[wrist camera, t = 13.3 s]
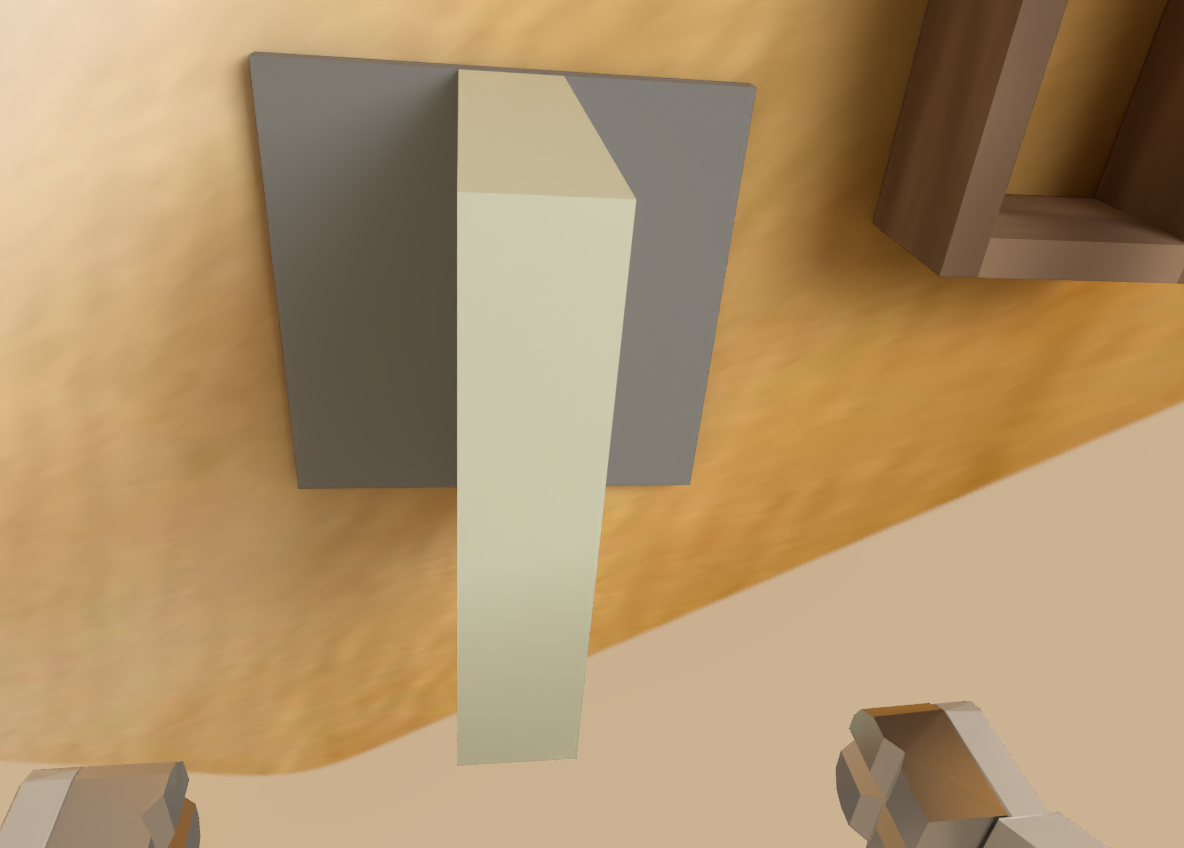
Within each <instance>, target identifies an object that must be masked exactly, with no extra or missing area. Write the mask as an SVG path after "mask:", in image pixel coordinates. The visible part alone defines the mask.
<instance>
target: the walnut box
mask: <svg viewBox="0 0 1184 848" xmlns="http://www.w3.org/2000/svg"><path fill="white" fill-rule="evenodd" d="M1067 2H1068V0H929V3H928V7H927V11H926V15H925V19H924V23H923V27H922V31H921V35H920V39H919V43H918V47H917V51H916V55H915V59H914V63H913V67H912V71H911V74H910V78H909V82H908V86H907V90H906V94H905V98H904V102H903V106H902V110H901V114H900V118H899V122H898V126H897V130H896V134H895V138H894V142H893V146H892V150H891V154H890V158H889V162H888V166H887V170H886V174H885V178H884V182H883V186H882V190H881V194H880V197H879V201H878V205H877V209H876V213H875V217H874V221H873V224H874V225H875V226H876V227H877V228H879V229H880V230H881V231H883V232H884V233H885V234H886V235H888V236H889V237H890V238H891V239H893V240H894V241H895V242H896V243H898V244H899V245H900V246H902V247H903V248H904V249H905V250H907V251H908V252H909V253H910V254H912V255H913V256H914V257H916V258H917V259H918V260H919V261H921V262H922V263H923V264H924V265H926V266H927V267H928V268H929V269H931V270H932V271H933V272H935V273H936V274H937V275H938V276H940V277H972V278H1006V279H1040V280H1074V281H1108V282H1142V283H1176V284H1184V0H1169V1H1168V4H1167V7H1166V9H1165V12H1164V15H1163V17H1162V20H1161V22H1160V25H1159V28H1158V30H1157V33H1156V36H1155V38H1154V41H1153V43H1152V46H1151V49H1150V51H1149V54H1148V57H1147V59H1146V62H1145V64H1144V67H1143V70H1142V72H1141V75H1140V78H1139V80H1138V83H1137V86H1136V88H1135V91H1134V93H1133V96H1132V99H1131V101H1130V104H1129V107H1128V109H1127V112H1126V114H1125V117H1124V120H1123V122H1122V125H1121V128H1120V130H1119V133H1118V136H1117V138H1116V141H1115V143H1114V146H1113V149H1112V151H1111V154H1110V157H1109V159H1108V162H1107V164H1106V167H1105V170H1104V172H1103V175H1102V178H1101V180H1100V183H1099V185H1098V188H1097V191H1096V193H1095V196H1094V198H1078V197H1056V196H1034V195H1012V194H1005V192H1006V189H1007V186H1008V183H1009V180H1010V177H1011V174H1012V171H1013V168H1014V165H1015V161H1016V158H1017V155H1018V152H1019V149H1020V146H1021V143H1022V140H1023V137H1024V134H1025V131H1026V128H1027V125H1028V122H1029V119H1030V115H1031V112H1032V109H1033V106H1034V103H1035V100H1036V97H1037V94H1038V91H1039V88H1040V85H1041V82H1042V79H1043V76H1044V73H1045V70H1046V66H1047V63H1048V60H1049V57H1050V54H1051V51H1052V48H1053V45H1054V42H1055V39H1056V36H1057V33H1058V30H1059V27H1060V24H1061V20H1062V17H1063V14H1064V11H1065V8H1066V5H1067Z"/></svg>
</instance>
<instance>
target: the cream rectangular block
mask: <svg viewBox="0 0 1184 848" xmlns="http://www.w3.org/2000/svg"><path fill="white" fill-rule="evenodd" d="M635 207H636V198H635V196H634V195H633V193H632V191H631V189H630V188H629V186H628V184H627V183H626V181H625V179H624V177H623V176H622V174H621V172H620V171H619V169H618V167H617V165H616V164H615V162H614V160H613V159H612V157H611V155H610V154H609V152H608V150H607V148H606V147H605V145H604V143H603V142H602V140H601V138H600V136H599V135H598V133H597V131H596V130H595V128H594V126H593V124H592V123H591V121H590V119H589V118H588V116H587V114H586V113H585V111H584V109H583V107H582V106H581V104H580V102H579V101H578V99H577V97H576V95H575V94H574V92H573V90H572V89H571V87H570V85H569V83H568V82H567V80H566V78H565V77H564V76H556V75H541V74H525V73H509V72H493V71H478V70H462V69H459V70H458V165H457V765H458V766H459V765H477V764H494V763H511V762H528V761H545V760H562V759H576V757H577V748H578V739H579V729H580V720H581V711H582V702H583V692H584V683H585V674H586V664H587V655H588V646H589V636H590V627H591V618H592V608H593V599H594V590H595V580H596V571H597V562H598V552H599V543H600V534H601V524H602V515H603V506H604V496H605V487H606V478H607V468H608V459H609V450H610V441H611V431H612V422H613V413H614V403H615V394H616V385H617V375H618V366H619V357H620V347H621V338H622V329H623V319H624V310H625V301H626V291H627V282H628V273H629V263H630V254H631V245H632V235H633V226H634V217H635Z"/></svg>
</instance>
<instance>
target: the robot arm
mask: <svg viewBox="0 0 1184 848" xmlns="http://www.w3.org/2000/svg"><path fill="white" fill-rule="evenodd" d="M849 729H850V731H851V733H852V735H853V737H854V739H855V740H854V741H852V742H851V743H850V744H849V745H848V746H846V747H845V748H844V749H843V750H841V752H840V756H839V759H838V763H837V766H836V785H837V793H838V797H839V801H840V804H841V808H842V810H843V813H844V815H845V817H846V820H847V822H848V825H849V826H850V827H851V828H852V829H854V830H855V831H856V832H857V833H859V834H860V835H861V836H862V837H863V838H864V839H866V840H867V846H866V848H1110V847H1109V846H1107V845H1106V844H1104V843H1103V842H1102V841H1100V840H1098V839H1097V838H1096V837H1094V836H1093V835H1091V834H1090V833H1089V832H1087V831H1086V830H1084V829H1083V828H1081V827H1080V826H1079V825H1077V824H1076V823H1074V822H1073V821H1072V820H1070V819H1069V818H1067V817H1066V816H1064V815H1063V814H1062V813H1060V812H1056V813H1049V812H1048V811H1047V809H1046V808H1045V806H1044V805H1043V803H1042V801H1041V800H1040V798H1039V797H1038V795H1037V794H1036V792H1035V791H1034V789H1033V788H1032V786H1031V785H1030V783H1029V782H1028V780H1027V779H1026V777H1025V776H1024V774H1023V773H1022V771H1021V770H1020V768H1019V767H1018V765H1017V764H1016V762H1015V761H1014V759H1013V757H1012V756H1011V754H1010V753H1009V751H1008V750H1007V748H1006V747H1005V745H1004V744H1003V742H1002V741H1001V740H1000V738H999V736H998V735H997V733H996V732H995V730H994V729H993V727H992V726H991V724H990V723H989V721H988V719H987V718H986V717H985V715H984V713H983V712H982V710H981V709H980V708H979V707H977V706H976V705H975V704H974V703H972V702H971V701H970V702H969V701H962V702H951V703H939V704H930V703H926V704H914V705H904V706H892V707H881V708H870V709H861V710H860V711H859V712H858V713H856V714H855V715H854V717H853V719H852V722H851V725H850V728H849ZM188 782H189V778H188V775H187V772H186V769H185V766H184V763H183V761H182V762H164V763H145V764H127V765H108V766H89V767H70V768H58V769H42V770H33V771H32V772H31V773H30V774H29V775H28V777H27V778H26V779H25V780H24V781H23V782H22V784H21V785H20V786H19V788H18V790H17V793H16V795H15V797H14V799H13V801H12V804H11V806H10V808H9V810H8V812H7V815H6V817H5V819H4V821H3V823H2V825H1V828H0V848H199V844H200V826H199V816H198V812H197V808H196V804H195V803H193V802H191V801H190V800H188V799H187V798H185V793H186V789H187V786H188Z"/></svg>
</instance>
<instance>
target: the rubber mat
mask: <svg viewBox="0 0 1184 848" xmlns="http://www.w3.org/2000/svg"><path fill="white" fill-rule="evenodd" d="M249 63H250V72H251V81H252V89H253V98H254V107H255V115H256V124H257V133H258V141H259V150H260V159H261V167H262V176H263V185H264V193H265V202H266V211H267V220H268V228H269V237H270V246H271V254H272V263H273V272H274V280H275V289H276V298H277V306H278V315H279V324H280V332H281V341H282V350H283V358H284V367H285V376H286V384H287V393H288V402H289V410H290V419H291V428H292V436H293V445H294V454H295V463H296V471H297V480H298V489H315V488H417V487H457V165H458V70H459V69H462V70H478V71H493V72H509V73H525V74H541V75H556V76H564V77H565V78H566V80H567V82H568V83H569V85H570V87H571V89H572V90H573V92H574V94H575V95H576V97H577V99H578V101H579V102H580V104H581V106H582V107H583V109H584V111H585V113H586V114H587V116H588V118H589V119H590V121H591V123H592V124H593V126H594V128H595V130H596V131H597V133H598V135H599V136H600V138H601V140H602V142H603V143H604V145H605V147H606V148H607V150H608V152H609V154H610V155H611V157H612V159H613V160H614V162H615V164H616V165H617V167H618V169H619V171H620V172H621V174H622V176H623V177H624V179H625V181H626V183H627V184H628V186H629V188H630V189H631V191H632V193H633V195H634V196H635V198H636V207H635V217H634V226H633V235H632V245H631V254H630V263H629V273H628V282H627V291H626V301H625V310H624V319H623V329H622V338H621V347H620V357H619V366H618V375H617V385H616V394H615V403H614V413H613V422H612V431H611V441H610V450H609V459H608V468H607V478H606V486H623V485H690V481H691V475H692V469H693V463H694V457H695V451H696V445H697V439H698V433H699V427H700V421H701V415H702V409H703V403H704V398H705V392H706V386H707V380H708V374H709V368H710V362H711V356H712V350H713V344H714V338H715V332H716V326H717V320H718V314H719V308H720V302H721V296H722V290H723V284H724V278H725V272H726V266H727V260H728V254H729V248H730V242H731V236H732V230H733V224H734V218H735V212H736V206H737V200H738V194H739V188H740V183H741V177H742V171H743V165H744V159H745V153H746V147H747V141H748V135H749V129H750V123H751V117H752V111H753V105H754V99H755V93H756V87H755V86H753V85H751V84H750V83H737V82H721V81H706V80H690V79H674V78H659V77H643V76H627V75H612V74H596V73H580V72H565V71H549V70H533V69H518V68H502V67H486V66H471V65H455V64H439V63H424V62H408V61H392V60H377V59H361V58H345V57H330V56H314V55H298V54H283V53H267V52H253V53H252V54H250V55H249Z"/></svg>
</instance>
